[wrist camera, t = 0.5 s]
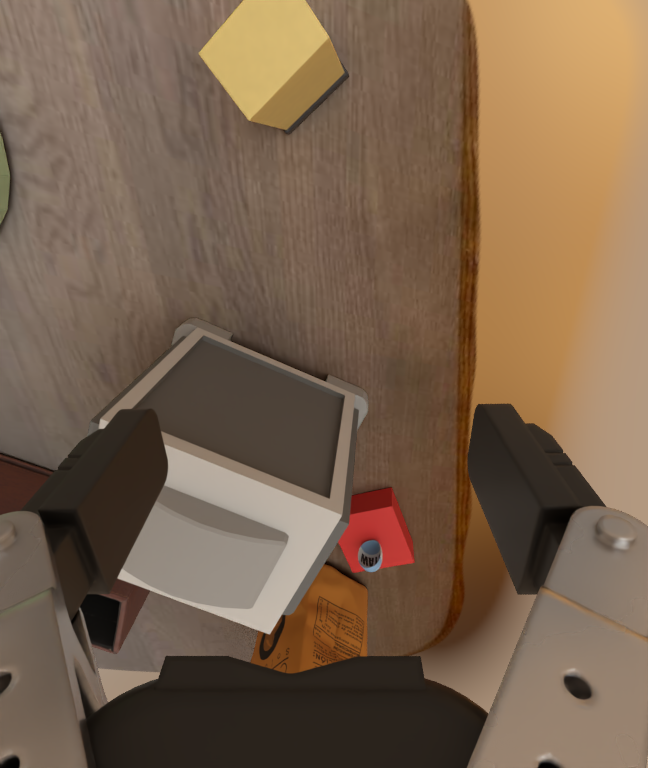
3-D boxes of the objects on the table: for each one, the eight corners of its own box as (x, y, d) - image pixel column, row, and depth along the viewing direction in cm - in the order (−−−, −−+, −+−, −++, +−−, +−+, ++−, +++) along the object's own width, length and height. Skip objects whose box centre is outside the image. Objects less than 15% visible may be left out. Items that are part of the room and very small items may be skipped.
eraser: (251, 83, 31) (192, 52, 21) (311, 19, 29) (277, -50, 19) (289, 135, 32) (249, 126, 22) (349, 76, 30) (334, 38, 20)
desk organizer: (166, 569, 56) (119, 659, 46) (-64, 493, 54) (-165, 570, 44) (181, 512, 51) (132, 599, 41) (-73, 426, 49) (-188, 496, 39)
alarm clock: (155, 425, 45) (30, 575, 29) (185, 313, 39) (48, 424, 23) (319, 491, 47) (286, 668, 31) (373, 393, 41) (368, 550, 25)
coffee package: (253, 592, 56) (186, 826, 36) (318, 546, 51) (280, 788, 31) (312, 632, 58) (278, 871, 39) (380, 591, 53) (380, 843, 34)
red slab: (412, 541, 49) (416, 591, 43) (354, 552, 51) (351, 601, 45) (391, 487, 46) (393, 533, 40) (330, 500, 47) (323, 546, 42)
